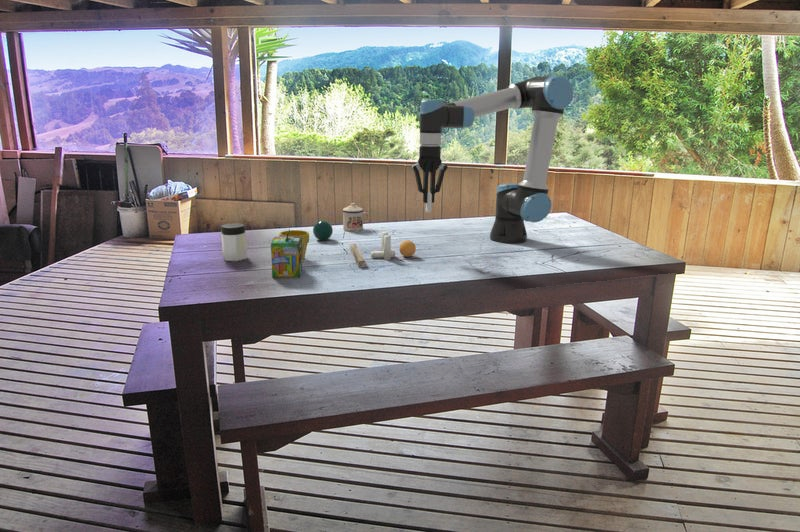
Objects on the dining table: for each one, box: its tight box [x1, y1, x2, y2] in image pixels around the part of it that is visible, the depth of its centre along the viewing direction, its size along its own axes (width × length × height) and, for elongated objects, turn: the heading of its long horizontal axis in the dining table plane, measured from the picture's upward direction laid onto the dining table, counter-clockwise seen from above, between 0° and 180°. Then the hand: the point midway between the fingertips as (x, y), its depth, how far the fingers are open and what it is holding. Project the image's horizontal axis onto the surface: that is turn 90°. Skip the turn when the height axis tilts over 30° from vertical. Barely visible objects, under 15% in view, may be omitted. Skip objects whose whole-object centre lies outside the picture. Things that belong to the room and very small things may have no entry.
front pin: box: [370, 250, 396, 259], centre depth 207 cm, size 2×2×8 cm
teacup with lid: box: [342, 202, 370, 232], centre depth 250 cm, size 12×9×12 cm
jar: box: [220, 222, 248, 262], centre depth 201 cm, size 9×8×12 cm
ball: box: [399, 240, 417, 258], centre depth 208 cm, size 6×6×6 cm
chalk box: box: [270, 228, 303, 279], centre depth 184 cm, size 9×9×15 cm
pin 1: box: [381, 231, 389, 251], centre depth 208 cm, size 2×2×8 cm
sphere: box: [312, 220, 333, 241], centre depth 230 cm, size 8×8×8 cm
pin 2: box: [383, 234, 392, 261], centre depth 204 cm, size 2×2×8 cm
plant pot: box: [278, 229, 310, 261], centre depth 201 cm, size 10×10×10 cm
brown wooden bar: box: [349, 243, 366, 269], centre depth 205 cm, size 2×24×2 cm, turn 12°
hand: (428, 211), depth 206 cm, fingers closed
